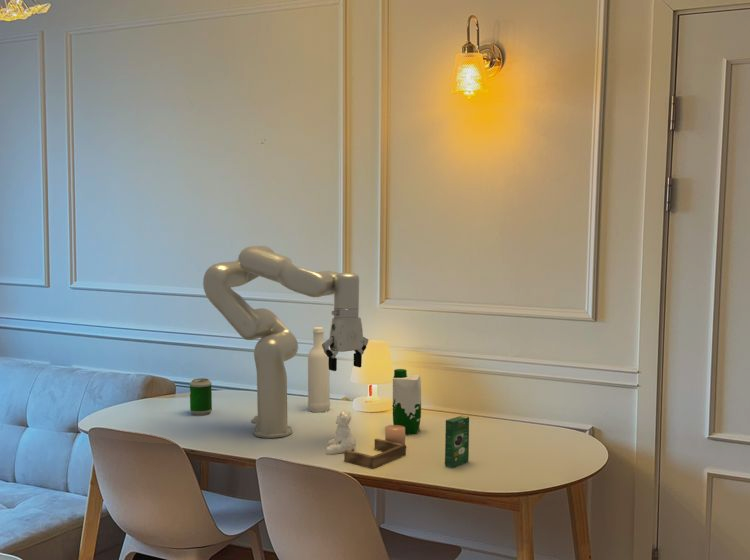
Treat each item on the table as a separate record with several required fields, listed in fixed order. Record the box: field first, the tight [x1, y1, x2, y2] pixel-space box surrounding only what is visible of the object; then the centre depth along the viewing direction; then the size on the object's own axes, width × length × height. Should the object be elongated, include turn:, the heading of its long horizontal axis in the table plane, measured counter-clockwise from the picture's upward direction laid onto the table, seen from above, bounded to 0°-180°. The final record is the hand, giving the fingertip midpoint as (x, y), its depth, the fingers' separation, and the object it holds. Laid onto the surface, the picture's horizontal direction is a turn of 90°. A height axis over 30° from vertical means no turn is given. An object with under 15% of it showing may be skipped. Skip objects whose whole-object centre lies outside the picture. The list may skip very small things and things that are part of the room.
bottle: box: [307, 326, 331, 413], centre depth 268 cm, size 8×8×30 cm
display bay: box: [343, 438, 407, 470], centre depth 214 cm, size 11×15×3 cm
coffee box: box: [444, 415, 470, 469], centre depth 209 cm, size 8×3×13 cm, turn 137°
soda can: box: [189, 377, 213, 417], centre depth 264 cm, size 8×8×12 cm
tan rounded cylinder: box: [384, 424, 406, 445], centre depth 225 cm, size 6×6×6 cm
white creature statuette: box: [325, 410, 357, 455], centre depth 222 cm, size 10×9×12 cm
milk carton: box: [392, 368, 422, 435], centre depth 241 cm, size 9×9×20 cm
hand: (345, 368), depth 230 cm, fingers open, 9 cm apart
